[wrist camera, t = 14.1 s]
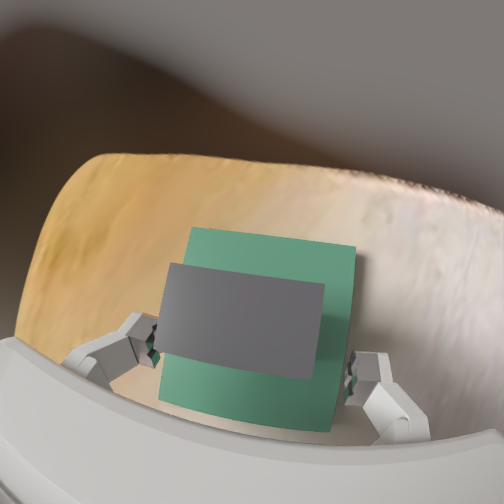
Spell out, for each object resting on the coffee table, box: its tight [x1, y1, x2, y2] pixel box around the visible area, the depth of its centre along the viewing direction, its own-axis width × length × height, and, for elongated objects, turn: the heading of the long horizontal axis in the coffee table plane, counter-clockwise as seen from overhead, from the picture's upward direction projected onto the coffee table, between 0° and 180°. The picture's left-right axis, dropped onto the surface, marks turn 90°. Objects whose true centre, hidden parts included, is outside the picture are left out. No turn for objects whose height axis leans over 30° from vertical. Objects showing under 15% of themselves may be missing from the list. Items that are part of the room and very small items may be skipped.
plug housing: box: [153, 262, 325, 380], centre depth 13 cm, size 3×6×8 cm, turn 81°
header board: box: [158, 227, 356, 432], centre depth 17 cm, size 13×12×4 cm
